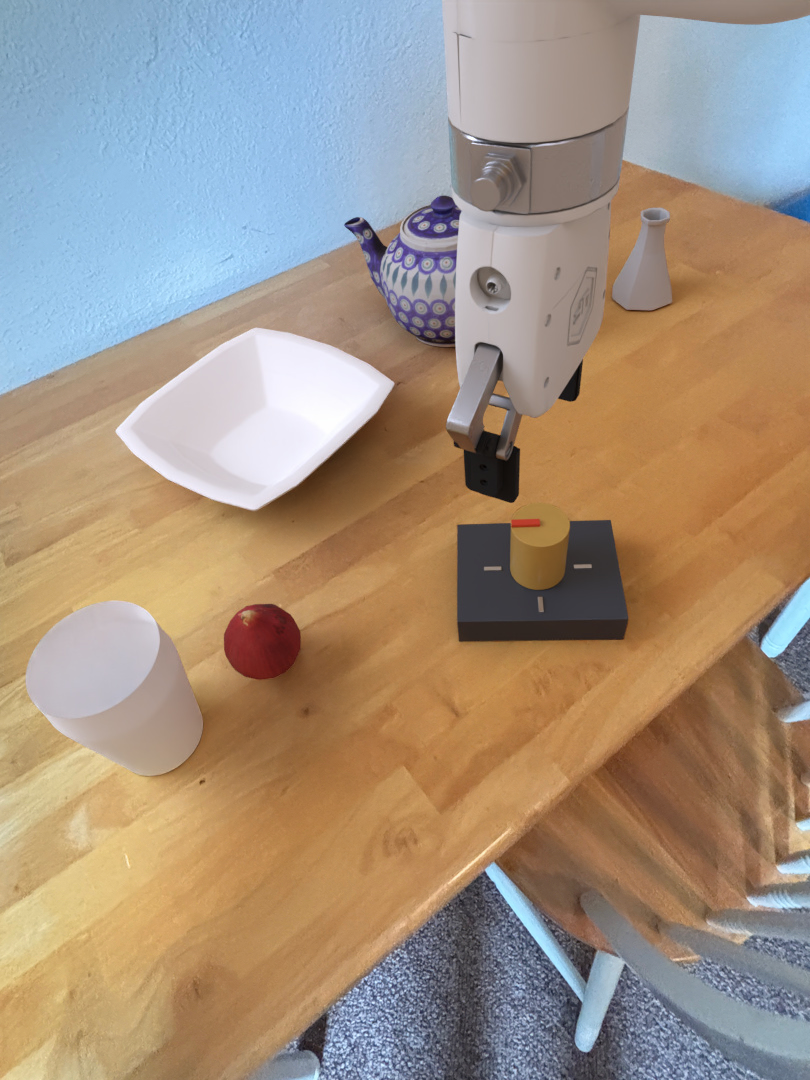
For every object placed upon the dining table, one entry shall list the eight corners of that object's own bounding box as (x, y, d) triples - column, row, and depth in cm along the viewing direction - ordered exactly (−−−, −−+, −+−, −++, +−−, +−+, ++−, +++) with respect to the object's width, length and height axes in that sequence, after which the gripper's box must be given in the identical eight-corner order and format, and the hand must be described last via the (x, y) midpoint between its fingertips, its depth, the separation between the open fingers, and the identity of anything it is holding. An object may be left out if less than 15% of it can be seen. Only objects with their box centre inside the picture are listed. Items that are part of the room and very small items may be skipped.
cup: (159, 665, 59) (95, 580, 50) (242, 711, 55) (191, 629, 46) (79, 758, 54) (-7, 683, 45) (164, 815, 51) (90, 746, 42)
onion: (272, 624, 60) (246, 567, 54) (324, 655, 58) (303, 599, 52) (225, 675, 58) (192, 622, 51) (277, 710, 55) (248, 658, 49)
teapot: (571, 306, 85) (582, 179, 74) (524, 381, 77) (529, 251, 66) (389, 273, 95) (374, 155, 83) (330, 337, 86) (305, 216, 75)
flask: (603, 284, 88) (613, 204, 80) (661, 275, 88) (676, 194, 80) (620, 317, 83) (633, 235, 75) (682, 307, 83) (700, 224, 75)
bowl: (117, 475, 74) (93, 435, 70) (270, 357, 85) (257, 316, 81) (267, 567, 64) (250, 527, 60) (419, 420, 75) (414, 376, 71)
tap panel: (606, 541, 62) (611, 518, 60) (623, 639, 56) (629, 617, 53) (458, 545, 64) (457, 523, 61) (458, 641, 57) (457, 620, 55)
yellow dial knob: (562, 546, 59) (567, 498, 54) (567, 589, 56) (573, 543, 51) (508, 547, 59) (509, 500, 55) (511, 590, 56) (512, 544, 52)
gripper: (538, 267, 25) (525, 560, 38) (677, 87, 34) (628, 374, 47) (361, 234, 28) (405, 517, 41) (532, 76, 37) (524, 350, 50)
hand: (524, 441), depth 44 cm, fingers open, 9 cm apart
